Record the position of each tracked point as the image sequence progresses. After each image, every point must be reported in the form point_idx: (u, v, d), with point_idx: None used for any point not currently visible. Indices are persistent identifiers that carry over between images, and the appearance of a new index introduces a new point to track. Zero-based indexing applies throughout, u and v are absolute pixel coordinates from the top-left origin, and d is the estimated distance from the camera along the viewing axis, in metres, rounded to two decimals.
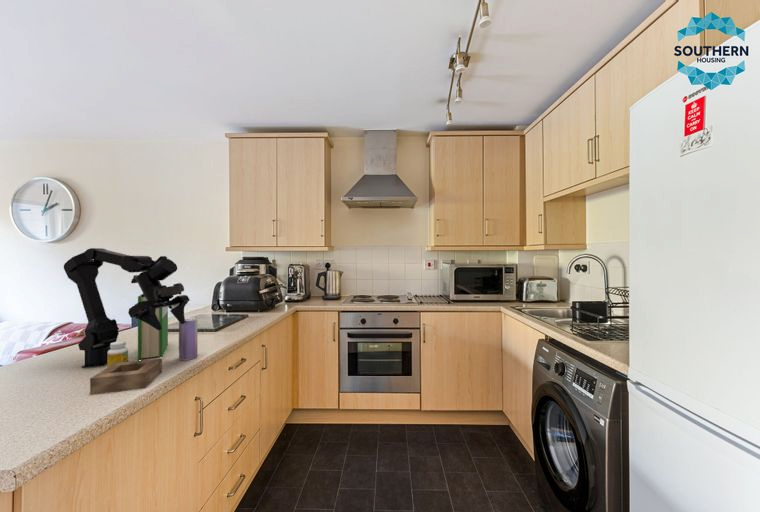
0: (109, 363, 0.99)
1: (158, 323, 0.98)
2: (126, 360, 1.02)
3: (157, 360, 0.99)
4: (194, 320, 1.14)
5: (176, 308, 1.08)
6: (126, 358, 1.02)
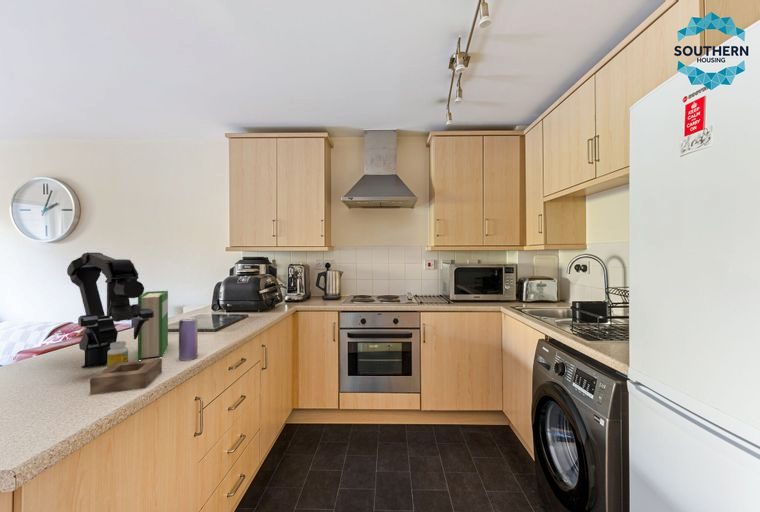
0: (109, 363, 0.99)
1: (98, 340, 0.97)
2: (126, 360, 1.02)
3: (157, 360, 0.99)
4: (194, 320, 1.14)
5: (136, 320, 1.06)
6: (126, 358, 1.02)
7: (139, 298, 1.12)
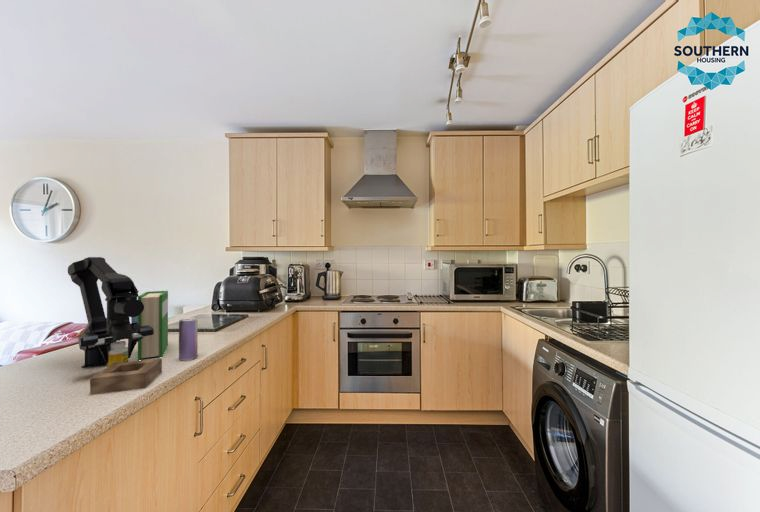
0: (109, 363, 0.99)
1: (105, 357, 0.99)
2: (126, 360, 1.02)
3: (157, 360, 0.99)
4: (194, 320, 1.14)
5: (130, 339, 1.04)
6: (126, 358, 1.02)
7: (139, 298, 1.12)
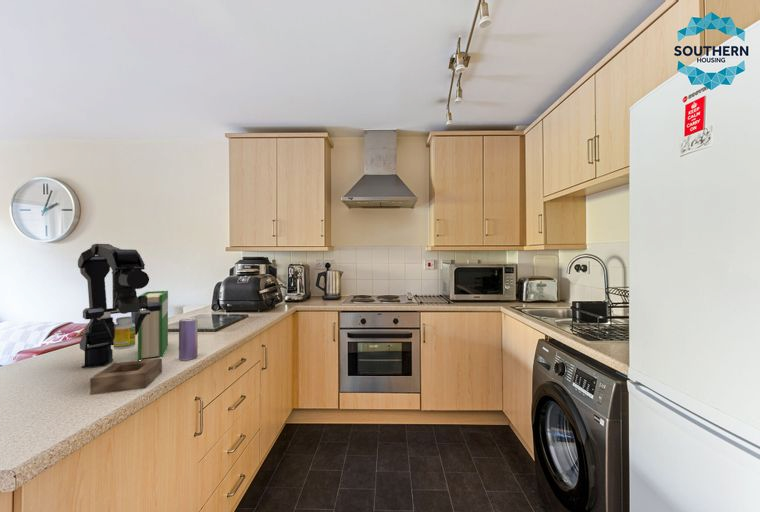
0: (115, 338, 0.94)
1: (112, 332, 0.93)
2: (133, 336, 0.97)
3: (157, 360, 0.99)
4: (194, 320, 1.14)
5: (137, 314, 0.99)
6: (133, 334, 0.97)
7: None
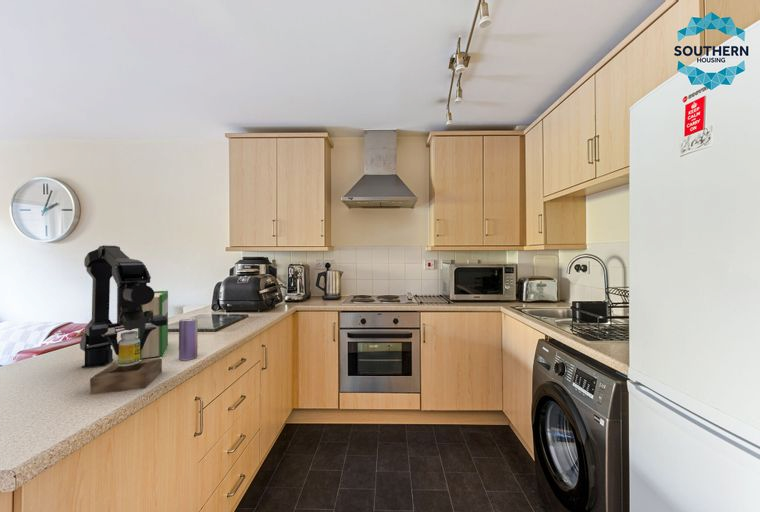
0: (120, 355, 0.90)
1: (116, 349, 0.89)
2: (138, 352, 0.93)
3: (157, 360, 0.99)
4: (194, 320, 1.14)
5: (142, 329, 0.95)
6: (138, 350, 0.93)
7: None
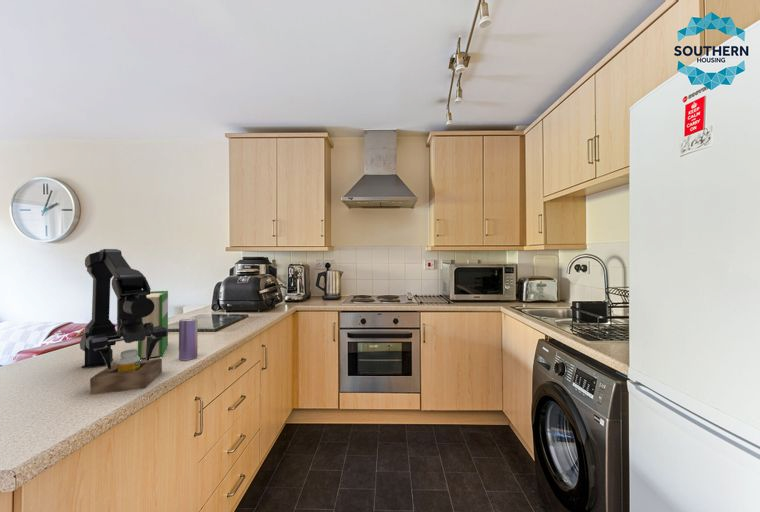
0: None
1: (108, 363, 0.88)
2: None
3: (157, 360, 0.99)
4: (194, 320, 1.14)
5: (149, 339, 0.97)
6: (138, 368, 0.93)
7: None
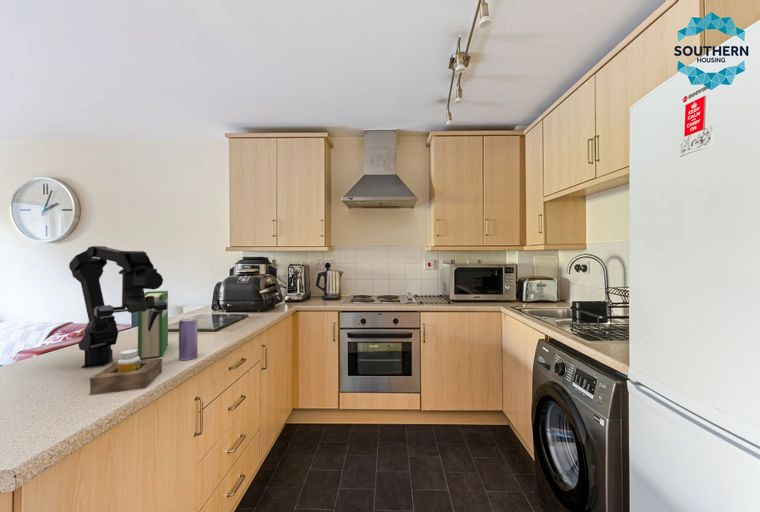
0: None
1: (113, 330, 0.98)
2: None
3: (157, 360, 0.99)
4: (194, 320, 1.14)
5: (150, 312, 1.06)
6: (138, 368, 0.93)
7: None
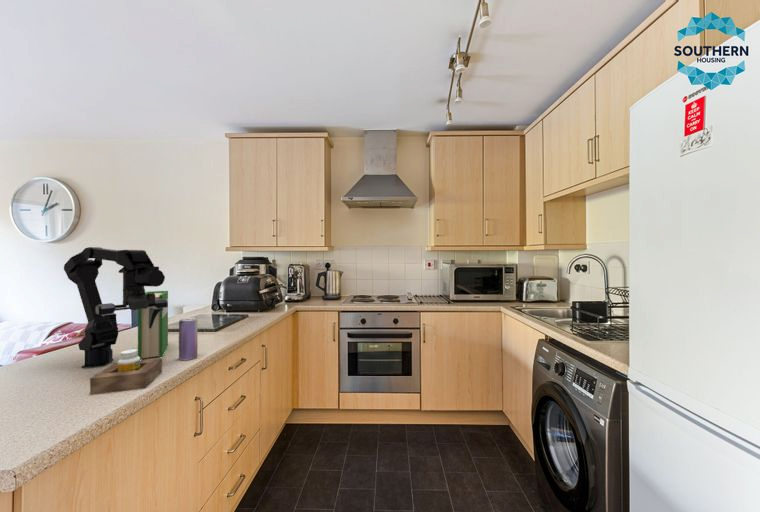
0: None
1: (115, 328, 0.99)
2: None
3: (157, 360, 0.99)
4: (194, 320, 1.14)
5: (151, 310, 1.08)
6: (138, 368, 0.93)
7: None
